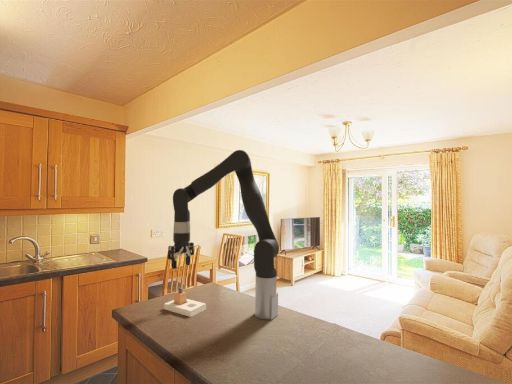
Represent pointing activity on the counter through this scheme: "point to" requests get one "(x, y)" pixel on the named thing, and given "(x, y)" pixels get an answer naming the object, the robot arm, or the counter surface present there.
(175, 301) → the block
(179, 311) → the power strip
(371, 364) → the counter surface
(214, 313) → the counter surface
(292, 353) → the counter surface
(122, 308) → the counter surface
